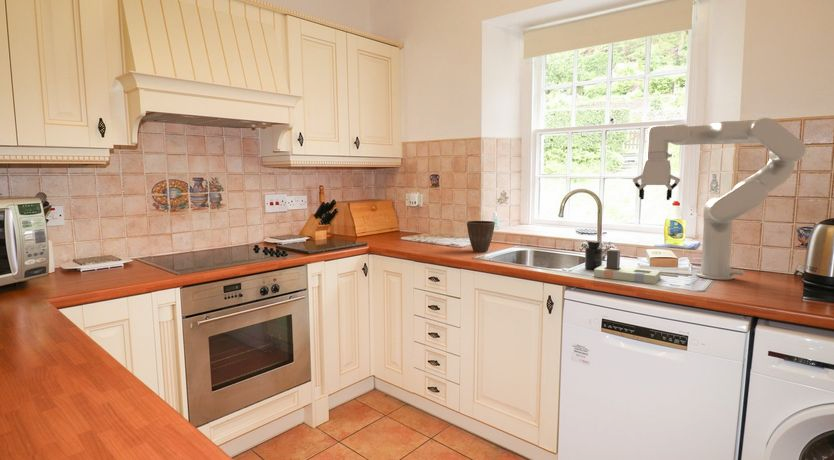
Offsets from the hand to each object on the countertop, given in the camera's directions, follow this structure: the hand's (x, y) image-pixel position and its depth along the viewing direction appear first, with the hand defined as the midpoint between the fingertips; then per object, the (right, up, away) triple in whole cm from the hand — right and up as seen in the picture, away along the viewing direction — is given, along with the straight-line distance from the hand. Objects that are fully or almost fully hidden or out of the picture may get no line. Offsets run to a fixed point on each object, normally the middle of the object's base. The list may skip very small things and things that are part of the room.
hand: (654, 199), depth 193 cm
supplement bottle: (-21, -29, +12) cm, 38 cm away
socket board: (-14, -31, -6) cm, 35 cm away
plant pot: (-63, -24, +61) cm, 91 cm away
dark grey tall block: (-19, -31, -3) cm, 36 cm away
